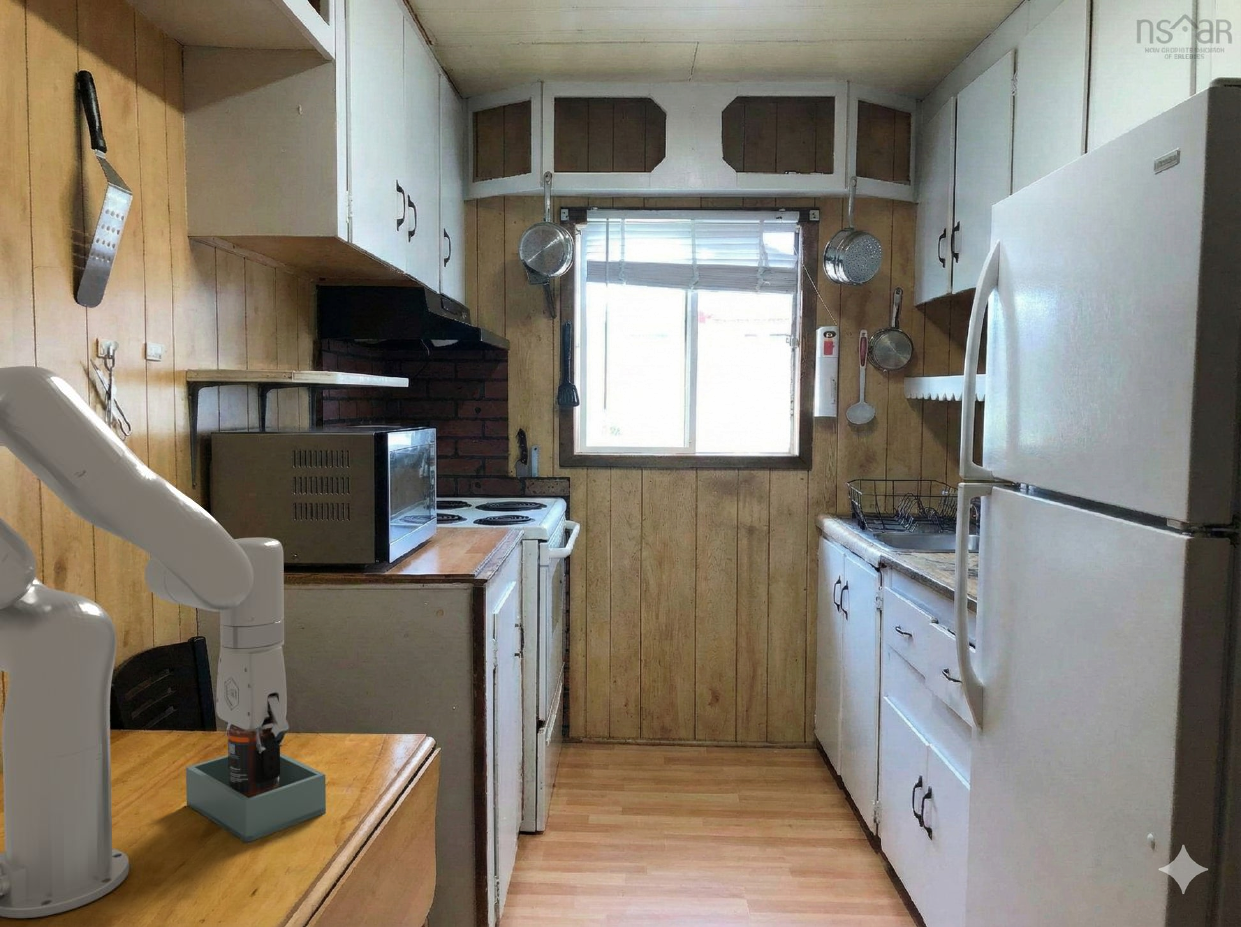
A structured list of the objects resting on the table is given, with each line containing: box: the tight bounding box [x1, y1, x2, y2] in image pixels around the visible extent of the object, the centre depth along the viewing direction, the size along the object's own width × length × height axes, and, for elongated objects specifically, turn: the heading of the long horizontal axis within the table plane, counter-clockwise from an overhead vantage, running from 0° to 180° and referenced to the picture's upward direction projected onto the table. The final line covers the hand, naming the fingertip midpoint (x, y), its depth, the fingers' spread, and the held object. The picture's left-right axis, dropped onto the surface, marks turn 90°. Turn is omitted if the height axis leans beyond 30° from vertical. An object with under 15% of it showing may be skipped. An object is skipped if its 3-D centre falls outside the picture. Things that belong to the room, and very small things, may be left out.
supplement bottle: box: [227, 719, 279, 798], centre depth 108 cm, size 6×6×11 cm
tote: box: [185, 752, 327, 844], centre depth 108 cm, size 10×16×5 cm, turn 51°
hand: (254, 771), depth 108 cm, fingers closed on supplement bottle, 6 cm apart
